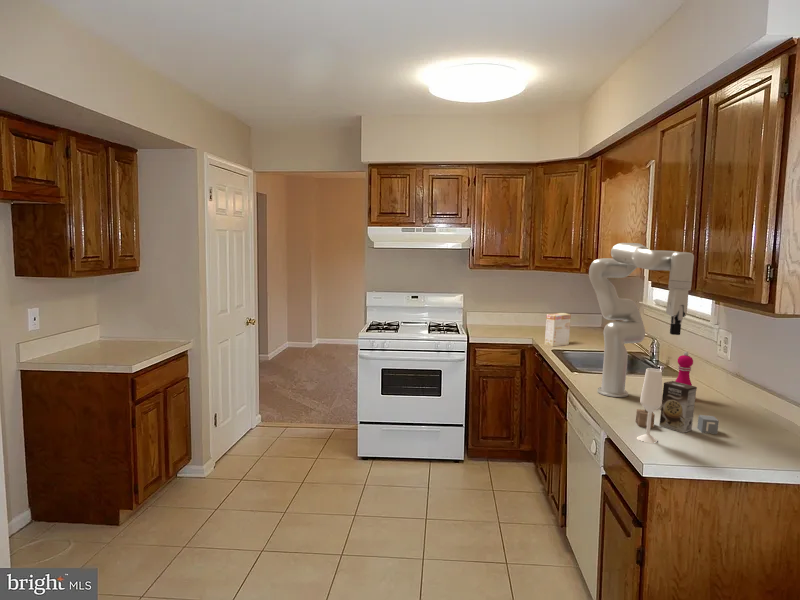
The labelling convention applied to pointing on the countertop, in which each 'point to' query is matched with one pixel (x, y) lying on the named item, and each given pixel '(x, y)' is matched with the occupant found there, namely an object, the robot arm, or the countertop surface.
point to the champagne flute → (651, 398)
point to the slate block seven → (708, 424)
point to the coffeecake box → (557, 329)
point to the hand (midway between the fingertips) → (674, 334)
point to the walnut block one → (644, 418)
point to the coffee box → (677, 406)
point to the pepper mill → (684, 369)
